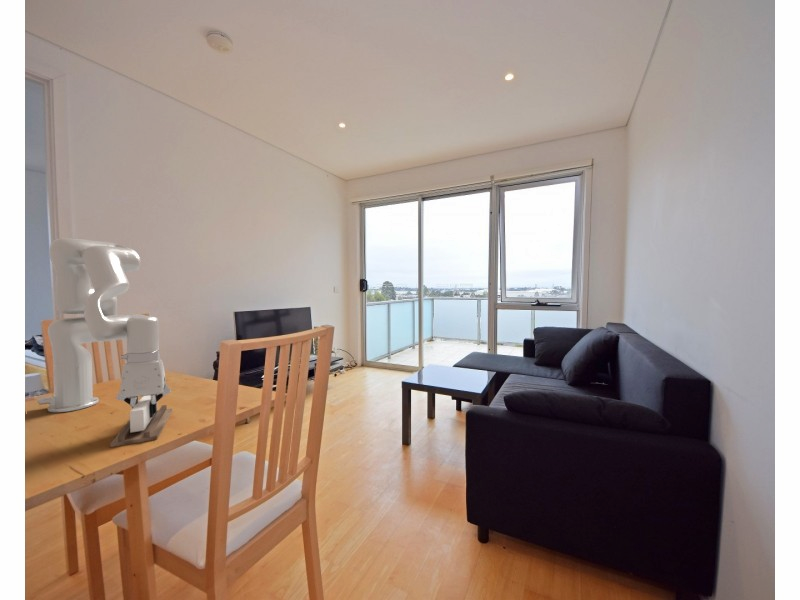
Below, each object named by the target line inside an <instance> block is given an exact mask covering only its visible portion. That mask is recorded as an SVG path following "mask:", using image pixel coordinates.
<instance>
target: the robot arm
mask: <svg viewBox="0 0 800 600" xmlns="http://www.w3.org/2000/svg"><path fill="white" fill-rule="evenodd" d="M48 251H49V254H48V255H49V258H50V262H51V265H52V266H53V269H54V273H55V289H54V291H55V292H54V293H55V295H54V296H55V297H54V298H55V299H54V302H55V303H54V304H55V308H56V311H58V312H59V313H61V314H66V315H82V314H83V315H84V316H77V317H76V316H75V317H74V316H73V317H64V318H60V319H59V318H58V319H56V320H54V321H52V322H50V324H49V325H48V327H47V334H48V335H47V336H48V339H49V342H50V347H51V352H52V353H51V354H52V367H53V368H52V369H53V370H52V371H53V375H52V376H53V377H52V378H53V395H51V396H48V397H47V396H46V397H39V398H38V400H37V403H38V404H39V406H41V405H47V404H48V407H47V412H50V413H65V412H66V413H67V412H72V411H78V410H82V409H86V408H88V407H91V406H94V405H96V404H98V403H99V402H100V401H99V400H100V399H99V397H97V396H93V392H94V390H93V365H92V364H93V362H92V361H93V358H92V354H91V352H90V351H89V349H87V348H86V347H84V346H83V344H88V343H97V342H112V341H113V342H114V341H121V340H126V351H127V352H126V353H124V354H121V355H120V359H121V360H125V361H126V362H125V363H123V365H122V370H121V376H120V377H121V378H120V390H119V392H118V393H117V395H116V397H115V399H116V400H117V401H121V402H125V403H126V404H128V405H130V407H131V409H132V408H133V407H134V406H135V405H136V404H137V403H138V402H139V397H143V396H149V395H150V397H151V404H150V418H151V417H153V416H154V414H155V413H156V412H157V411H158V402H159V401H160V400H161V399H162V398H163V397H165V396H166V395H169V394H170V393H171V391H172V389H171V388H170V387H169V385H168V384H167V383H166V373H165V372H166V371H165V366H164V362H163V359H161V358H160V321H159V318H158V317H156V316H153V315H147V314H146V315H145V314H142V313H133V314H118V298H117V297H118V296H121V295H123V294H125V293H126V292H127V291H128V290H129V289H130V287H131V285H130V281H129V280H128V277H127V275H126V273H135V272H138V271H139V269H140V268H141V264H142V261H141V257H140V255H139V253H138V252H137V251H136V250H135V249H133V248H131V247H127V246H126V245H123V244H119V243H116V242H111V241H102V240H92V239H86V238H74V237H73V238H71V237H60V238H57V239H54V240H53V241H52V242H51V244H50V246H49V249H48ZM92 286H93V287H92Z"/></svg>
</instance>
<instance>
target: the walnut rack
mask: <svg viewBox="0 0 800 600" xmlns="http://www.w3.org/2000/svg"><path fill="white" fill-rule="evenodd" d="M172 413H173V408H167V404H165V405H164V404H163V405H161V406H160V408H159V410H158V409H157V412H156V413H155V415H154V416H153V418H152V419H151V421H150V422H149V423H148V425H147V426H146V428H145V429H144V430H143V431H137V432H131V433H130V419H129V420H128V422H127V423H126V424H125V425H124V426H123V428H122V429H121V430H120V431H119V433H118V434H117V435H116V436H115V438H113V440H112V441H111V442H110V444H109V445H110V446H109V447H110V448H114V447H119V446H120V447H121V446H126V445H131V444H132V445H133V444H137V443H143V442H149V441H155V440H156V441H157V440H158V439H159V437H160V435H161V433H162V431H163V430H164V428H165V426H166V424H167V422H168V420H169V418H170V416H171V415H172Z"/></svg>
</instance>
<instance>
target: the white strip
mask: <svg viewBox="0 0 800 600" xmlns="http://www.w3.org/2000/svg"><path fill="white" fill-rule="evenodd" d="M150 404H151V397H150V395H149V396H141V398H140V399H139V400H138V403H137V404H136V405H135V406H134V407H133V408H132V407H131V410H130V411H129V420H130V433H131V432H137V431H143V430H144V429H145V428H146V426H147V425H148V423H149V422H150V421H151V419H152V418H153V417H151V418H150ZM154 415H155V414H154Z"/></svg>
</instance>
